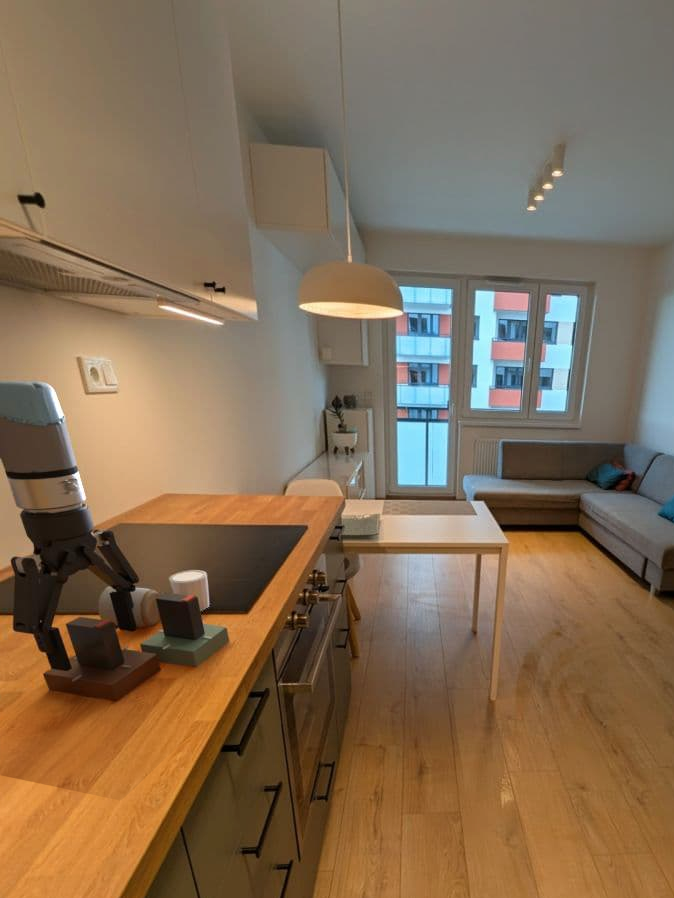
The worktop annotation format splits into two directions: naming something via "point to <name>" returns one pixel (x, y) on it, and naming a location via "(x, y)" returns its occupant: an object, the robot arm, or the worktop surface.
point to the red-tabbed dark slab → (95, 642)
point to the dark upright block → (180, 616)
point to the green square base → (187, 646)
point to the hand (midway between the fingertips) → (97, 647)
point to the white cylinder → (192, 585)
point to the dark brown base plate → (104, 676)
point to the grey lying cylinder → (142, 610)
